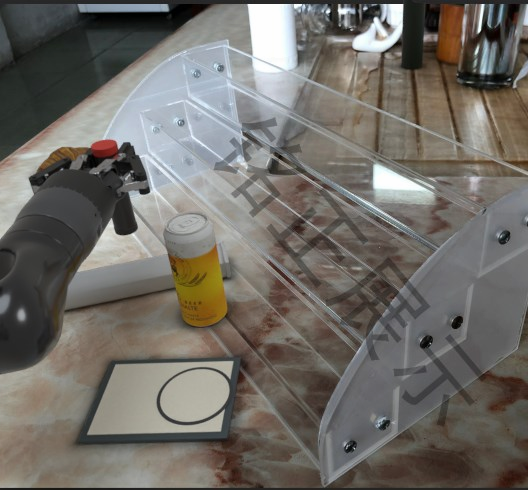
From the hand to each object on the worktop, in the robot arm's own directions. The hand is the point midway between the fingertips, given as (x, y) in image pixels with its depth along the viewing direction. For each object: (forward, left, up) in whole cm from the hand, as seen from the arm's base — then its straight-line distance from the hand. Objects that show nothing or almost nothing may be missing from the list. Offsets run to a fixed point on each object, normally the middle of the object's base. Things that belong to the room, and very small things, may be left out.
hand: (114, 149), depth 74 cm
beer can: (+9, -6, -22) cm, 25 cm away
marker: (0, -3, -10) cm, 10 cm away
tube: (-1, -1, -22) cm, 22 cm away
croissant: (-27, +41, -22) cm, 53 cm away
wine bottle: (+49, +97, -22) cm, 111 cm away
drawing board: (+7, -21, -22) cm, 32 cm away
